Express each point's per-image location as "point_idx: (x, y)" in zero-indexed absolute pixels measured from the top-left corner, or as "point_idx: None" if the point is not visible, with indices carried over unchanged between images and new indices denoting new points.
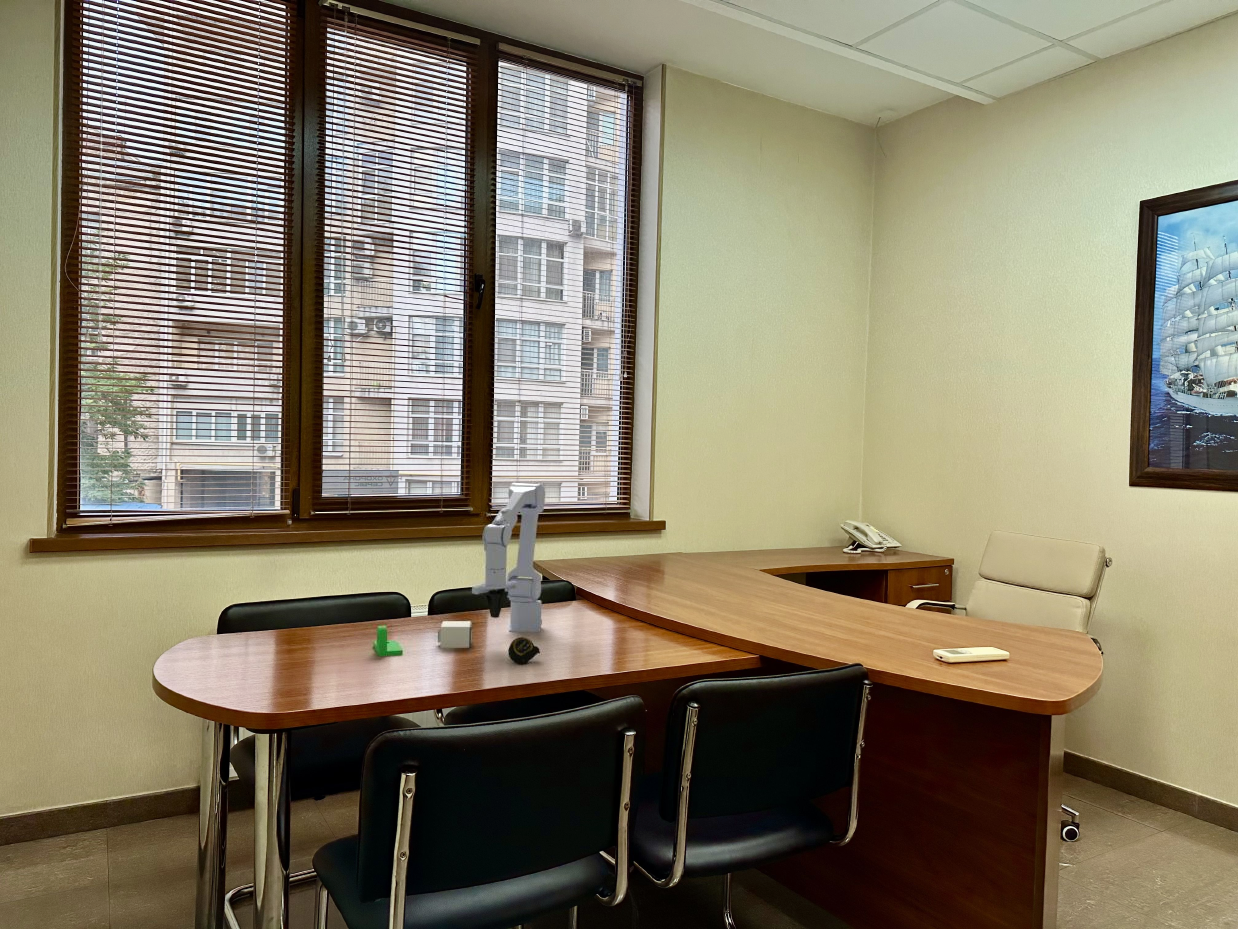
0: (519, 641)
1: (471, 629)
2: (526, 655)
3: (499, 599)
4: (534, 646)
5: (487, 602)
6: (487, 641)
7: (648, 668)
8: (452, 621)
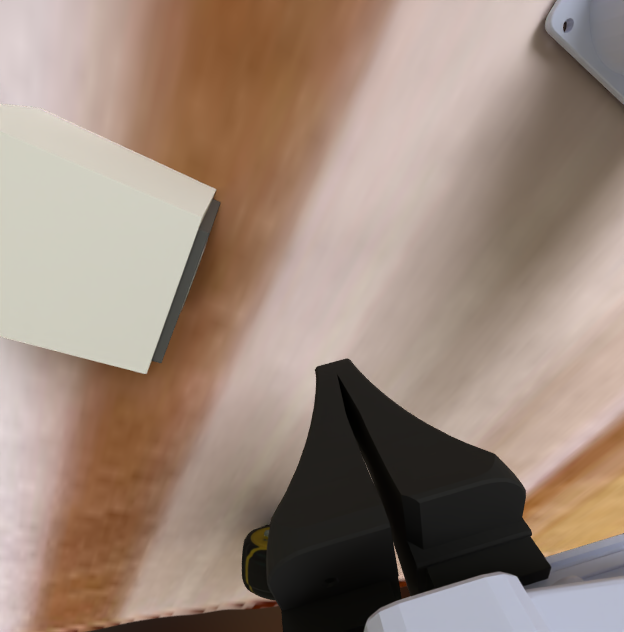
0: None
1: (188, 292)
2: None
3: (392, 535)
4: None
5: (305, 452)
6: (324, 178)
7: None
8: (29, 154)
